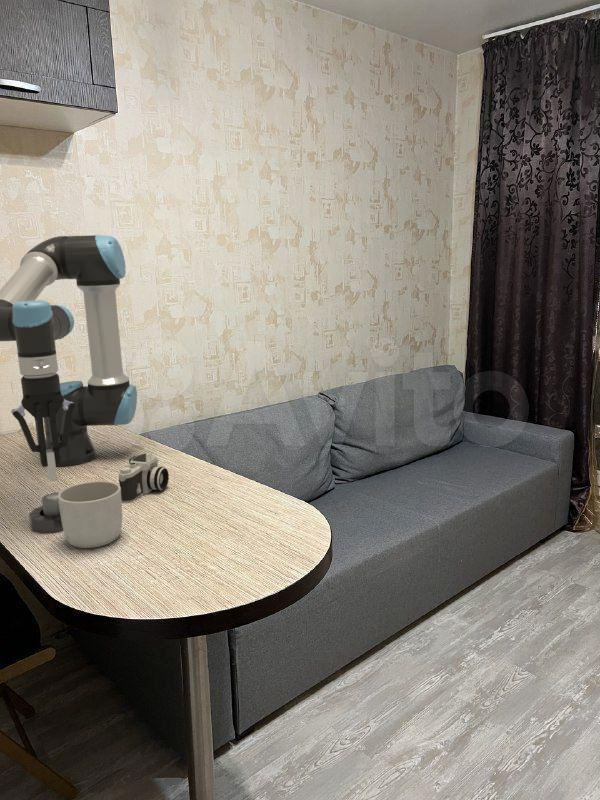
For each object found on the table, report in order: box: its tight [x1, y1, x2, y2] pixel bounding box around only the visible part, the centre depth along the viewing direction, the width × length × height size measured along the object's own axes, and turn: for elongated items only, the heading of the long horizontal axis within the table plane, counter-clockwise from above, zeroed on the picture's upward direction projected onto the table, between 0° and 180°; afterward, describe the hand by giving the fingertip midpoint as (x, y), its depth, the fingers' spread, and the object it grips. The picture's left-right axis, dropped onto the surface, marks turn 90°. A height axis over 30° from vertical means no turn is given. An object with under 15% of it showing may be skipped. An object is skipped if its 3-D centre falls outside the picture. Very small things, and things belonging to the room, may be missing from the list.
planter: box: [58, 480, 123, 549], centre depth 129 cm, size 12×12×11 cm
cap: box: [41, 492, 60, 517], centre depth 138 cm, size 5×5×6 cm
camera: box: [118, 452, 170, 503], centre depth 156 cm, size 16×9×10 cm, turn 166°
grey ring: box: [28, 505, 64, 535], centre depth 139 cm, size 10×10×3 cm
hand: (52, 479), depth 137 cm, fingers closed
